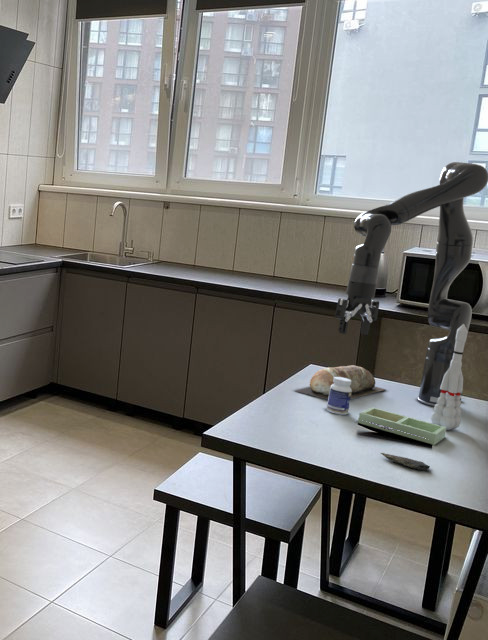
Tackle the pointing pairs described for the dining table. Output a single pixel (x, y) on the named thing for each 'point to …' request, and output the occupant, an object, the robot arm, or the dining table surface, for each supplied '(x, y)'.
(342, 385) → the pill bottle
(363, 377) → the bread loaf
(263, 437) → the dining table surface
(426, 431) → the holder
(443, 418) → the rocket model
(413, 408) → the dining table surface
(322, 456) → the dining table surface
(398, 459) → the arrowhead
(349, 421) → the dining table surface
